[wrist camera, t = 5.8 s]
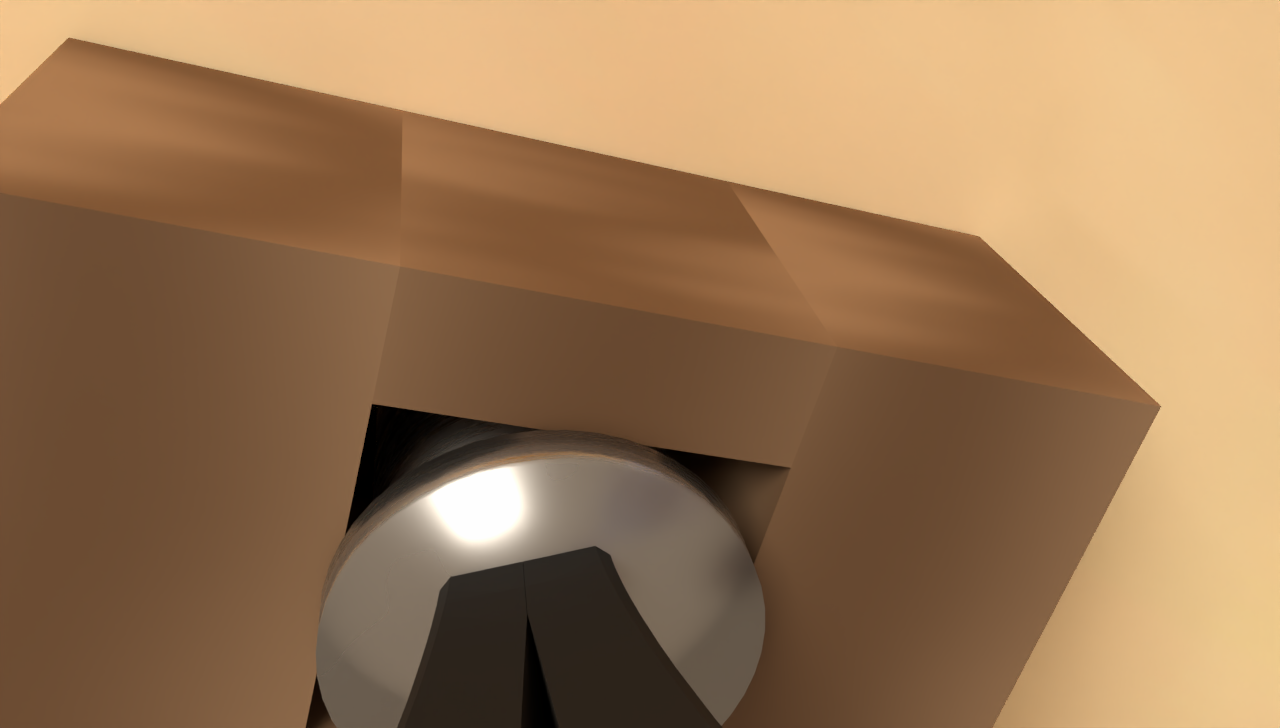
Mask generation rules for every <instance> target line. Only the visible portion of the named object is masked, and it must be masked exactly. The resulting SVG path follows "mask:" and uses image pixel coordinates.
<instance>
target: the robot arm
mask: <svg viewBox="0 0 1280 728" xmlns="http://www.w3.org/2000/svg"><path fill="white" fill-rule="evenodd" d="M397 728H723V727H722V726H721V725H720V724H719V723H718V721H717V720H716V719H715V718H714V717H713V715H712V714H711V713H710V711H709V710H708V709H707V707H706V706H705V705H704V703H703V702H702V701H701V700H700V698H699V697H698V696H697V694H696V693H695V692H694V690H693V689H692V688H691V686H690V685H689V684H688V683H687V681H686V680H685V679H684V677H683V676H682V675H681V673H680V672H679V671H678V670H677V668H676V667H675V665H674V664H673V663H672V661H671V660H670V658H669V657H668V656H667V654H666V653H665V651H664V650H663V648H662V647H661V646H660V644H659V643H658V641H657V640H656V638H655V636H654V635H653V633H652V632H651V630H650V629H649V627H648V626H647V624H646V623H645V621H644V619H643V618H642V616H641V615H640V613H639V611H638V610H637V608H636V606H635V605H634V603H633V601H632V600H631V598H630V596H629V594H628V592H627V591H626V589H625V587H624V585H623V583H622V581H621V579H620V577H619V575H618V573H617V570H616V568H615V566H614V563H613V561H612V558H611V555H610V554H608V553H607V552H605V551H603V550H602V549H600V548H598V547H596V546H593V547H588V548H583V549H578V550H574V551H569V552H565V553H560V554H555V555H551V556H546V557H542V558H537V559H532V560H528V561H523V562H518V563H513V564H509V565H504V566H499V567H495V568H490V569H485V570H481V571H476V572H471V573H466V574H462V575H457V576H452V577H450V578H449V579H448V581H447V582H446V583H445V584H444V586H443V587H442V588H441V589H440V591H439V596H438V601H437V606H436V610H435V614H434V618H433V621H432V625H431V629H430V632H429V636H428V639H427V643H426V646H425V649H424V653H423V656H422V659H421V662H420V665H419V668H418V671H417V674H416V677H415V680H414V683H413V686H412V689H411V692H410V695H409V698H408V700H407V703H406V706H405V708H404V711H403V714H402V716H401V719H400V721H399V724H398V726H397Z"/></svg>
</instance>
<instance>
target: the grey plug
mask: <svg viewBox="0 0 1280 728" xmlns="http://www.w3.org/2000/svg"><path fill="white" fill-rule="evenodd" d="M593 546H596V547H598V548H600V549H602V550H603V551H605V552H607V553H608V554H610V555H611V558H612V561H613V563H614V566H615V568H616V570H617V573H618V575H619V577H620V579H621V581H622V583H623V585H624V587H625V589H626V591H627V592H628V594H629V596H630V598H631V600H632V601H633V603H634V605H635V606H636V608H637V610H638V611H639V613H640V615H641V616H642V618H643V619H644V621H645V623H646V624H647V626H648V627H649V629H650V630H651V632H652V633H653V635H654V636H655V638H656V640H657V641H658V643H659V644H660V646H661V647H662V648H663V650H664V651H665V653H666V654H667V656H668V657H669V658H670V660H671V661H672V663H673V664H674V665H675V667H676V668H677V670H678V671H679V672H680V673H681V675H682V676H683V677H684V679H685V680H686V681H687V683H688V684H689V685H690V686H691V688H692V689H693V690H694V692H695V693H696V694H697V696H698V697H699V698H700V700H701V701H702V702H703V703H704V705H705V706H706V707H707V709H708V710H709V711H710V713H711V714H712V715H713V717H714V718H715V719H716V720H717V721H718V723H719V724H720V725H721V726H722V725H723V723H724V722H725V721H726V720H727V719H728V718H729V716H730V715H731V714H732V712H733V711H734V709H735V708H736V706H737V705H738V703H739V702H740V700H741V699H742V697H743V696H744V694H745V692H746V690H747V688H748V686H749V684H750V682H751V680H752V678H753V676H754V674H755V671H756V668H757V665H758V662H759V658H760V655H761V652H762V646H763V640H764V634H765V605H764V599H763V593H762V587H761V584H760V581H759V578H758V575H757V573H756V570H755V567H754V564H753V562H752V559H751V557H750V554H749V552H748V549H747V547H746V544H745V542H744V539H743V537H742V534H741V532H740V529H739V527H738V526H737V524H736V522H735V520H734V518H733V517H732V515H731V513H730V511H729V510H728V508H727V507H726V506H725V504H724V503H723V502H722V501H721V499H720V498H719V497H718V496H717V494H716V493H715V492H714V491H713V490H712V489H711V488H710V487H709V486H708V485H707V484H706V483H705V482H704V481H702V480H701V479H700V478H699V477H698V476H697V475H696V474H695V473H693V472H692V471H690V470H689V469H687V468H686V467H684V466H683V465H681V464H680V463H679V462H677V461H676V460H674V459H672V458H670V457H668V456H667V454H666V452H665V449H664V448H659V447H652V446H645V445H641V444H638V443H635V442H632V441H629V440H627V439H623V438H619V437H614V436H609V435H605V434H600V433H594V432H584V431H573V430H541V429H534V428H527V427H521V426H514V425H508V424H501V423H495V422H488V421H482V420H475V419H469V418H462V417H455V416H449V415H442V414H436V413H429V412H423V411H416V410H410V409H403V408H396V407H390V406H383V405H378V406H377V423H376V445H375V467H374V488H373V501H372V502H371V504H370V505H369V506H368V507H367V508H366V509H365V510H364V511H363V513H362V514H361V515H360V516H359V517H358V518H357V519H356V520H355V522H354V523H353V524H352V526H351V527H350V529H349V530H348V532H347V533H346V535H345V536H344V538H343V539H342V541H341V542H340V544H339V546H338V548H337V550H336V553H335V555H334V557H333V559H332V561H331V563H330V565H329V568H328V571H327V575H326V578H325V582H324V585H323V589H322V596H321V605H320V614H319V624H318V634H317V644H316V668H317V678H318V682H319V687H320V691H321V695H322V699H323V701H324V703H325V706H326V708H327V710H328V713H329V715H330V717H331V720H332V721H333V723H334V724H335V726H336V727H337V728H397V726H398V724H399V721H400V719H401V716H402V714H403V711H404V708H405V706H406V703H407V700H408V698H409V695H410V692H411V689H412V686H413V683H414V680H415V677H416V674H417V671H418V668H419V665H420V662H421V659H422V656H423V653H424V649H425V646H426V643H427V639H428V636H429V632H430V629H431V625H432V621H433V618H434V614H435V610H436V606H437V601H438V596H439V591H440V589H441V588H442V587H443V586H444V584H445V583H446V582H447V581H448V579H449V578H450V577H452V576H457V575H462V574H466V573H471V572H476V571H481V570H485V569H490V568H495V567H499V566H504V565H509V564H513V563H518V562H523V561H528V560H532V559H537V558H542V557H546V556H551V555H555V554H560V553H565V552H569V551H574V550H578V549H583V548H588V547H593Z"/></svg>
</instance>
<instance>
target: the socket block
mask: <svg viewBox="0 0 1280 728" xmlns="http://www.w3.org/2000/svg"><path fill="white" fill-rule="evenodd" d="M372 404H377V405H383V406H390V407H396V408H403V409H410V410H416V411H423V412H429V413H436V414H442V415H449V416H455V417H462V418H469V419H475V420H482V421H488V422H495V423H501V424H508V425H514V426H521V427H527V428H534V429H541V430H573V431H584V432H594V433H600V434H605V435H609V436H614V437H619V438H623V439H627V440H629V441H632V442H635V443H638V444H641V445H645V446H652V447H659V448H664V449H665V452H666V454H667V456H668V457H670V458H672V459H674V460H676V461H677V462H679V463H680V464H681V465H683V466H684V467H686V468H687V469H689V470H690V471H692V472H693V473H695V474H696V475H697V476H698V477H699V478H700V479H701V480H702V481H704V482H705V483H706V484H707V485H708V486H709V487H710V488H711V489H712V490H713V491H714V492H715V493H716V494H717V496H718V497H719V498H720V499H721V501H722V502H723V503H724V504H725V506H726V507H727V508H728V510H729V511H730V513H731V515H732V517H733V518H734V520H735V522H736V524H737V526H738V527H739V529H740V532H741V534H742V537H743V539H744V542H745V544H746V547H747V549H748V552H749V554H750V557H751V559H752V562H753V564H754V567H755V570H756V573H757V575H758V578H759V581H760V584H761V587H762V593H763V599H764V605H765V634H764V640H763V646H762V652H761V655H760V658H759V662H758V665H757V668H756V671H755V674H754V676H753V678H752V680H751V682H750V684H749V686H748V688H747V690H746V692H745V694H744V696H743V697H742V699H741V700H740V702H739V703H738V705H737V706H736V708H735V709H734V711H733V712H732V714H731V715H730V716H729V718H728V719H727V720H726V721H725V722H724V723H723V725H722V727H723V728H992V727H993V725H994V723H995V721H996V719H997V717H998V716H999V714H1000V712H1001V710H1002V708H1003V706H1004V704H1005V702H1006V700H1007V698H1008V697H1009V695H1010V693H1011V691H1012V689H1013V687H1014V685H1015V683H1016V681H1017V679H1018V678H1019V676H1020V674H1021V672H1022V670H1023V668H1024V666H1025V664H1026V662H1027V660H1028V658H1029V657H1030V655H1031V653H1032V651H1033V649H1034V647H1035V645H1036V643H1037V641H1038V639H1039V638H1040V636H1041V634H1042V632H1043V630H1044V628H1045V626H1046V624H1047V622H1048V620H1049V619H1050V617H1051V615H1052V613H1053V611H1054V609H1055V607H1056V605H1057V603H1058V601H1059V600H1060V598H1061V596H1062V594H1063V592H1064V590H1065V588H1066V586H1067V584H1068V582H1069V580H1070V579H1071V577H1072V575H1073V573H1074V571H1075V569H1076V567H1077V565H1078V563H1079V561H1080V560H1081V558H1082V556H1083V554H1084V552H1085V550H1086V548H1087V546H1088V544H1089V542H1090V541H1091V539H1092V537H1093V535H1094V533H1095V531H1096V529H1097V527H1098V525H1099V523H1100V522H1101V520H1102V518H1103V516H1104V514H1105V512H1106V510H1107V508H1108V506H1109V504H1110V502H1111V501H1112V499H1113V497H1114V495H1115V493H1116V491H1117V489H1118V487H1119V485H1120V483H1121V482H1122V480H1123V478H1124V476H1125V474H1126V472H1127V470H1128V468H1129V466H1130V464H1131V463H1132V461H1133V459H1134V457H1135V455H1136V453H1137V451H1138V449H1139V447H1140V445H1141V444H1142V442H1143V440H1144V438H1145V436H1146V434H1147V432H1148V430H1149V428H1150V426H1151V424H1152V423H1153V421H1154V419H1155V417H1156V415H1157V413H1158V411H1159V409H1160V407H1161V406H1160V405H1159V404H1158V403H1157V402H1156V401H1155V400H1154V399H1153V398H1152V397H1151V396H1149V395H1148V394H1147V393H1146V392H1145V391H1144V390H1143V389H1142V388H1141V387H1140V386H1139V385H1138V384H1137V383H1136V382H1134V381H1133V380H1132V379H1131V378H1130V377H1129V376H1128V375H1127V374H1126V373H1125V372H1124V371H1123V370H1122V369H1121V368H1119V367H1118V366H1117V365H1116V364H1115V363H1114V362H1113V361H1112V360H1111V359H1110V358H1109V357H1108V356H1107V355H1106V354H1104V353H1103V352H1102V351H1101V350H1100V349H1099V348H1098V347H1097V346H1096V345H1095V344H1094V343H1093V342H1092V341H1091V340H1089V339H1088V338H1087V337H1086V336H1085V335H1084V334H1083V333H1082V332H1081V331H1080V330H1079V329H1078V328H1077V327H1076V326H1074V325H1073V324H1072V323H1071V322H1070V321H1069V320H1068V319H1067V318H1066V317H1065V316H1064V315H1063V314H1062V313H1061V312H1059V311H1058V310H1057V309H1056V308H1055V307H1054V306H1053V305H1052V304H1051V303H1050V302H1049V301H1048V300H1047V299H1046V298H1044V297H1043V296H1042V295H1041V294H1040V293H1039V292H1038V291H1037V290H1036V289H1035V288H1034V287H1033V286H1032V285H1031V284H1029V283H1028V282H1027V281H1026V280H1025V279H1024V278H1023V277H1022V276H1021V275H1020V274H1019V273H1018V272H1017V271H1016V270H1014V269H1013V268H1012V267H1011V266H1010V265H1009V264H1008V263H1007V262H1006V261H1005V260H1004V259H1003V258H1002V257H1001V256H999V255H998V254H997V253H996V252H995V251H994V250H993V249H992V248H991V247H990V246H989V245H988V244H987V243H986V242H984V241H983V240H982V239H981V238H980V237H978V236H974V235H969V234H965V233H960V232H956V231H951V230H946V229H942V228H937V227H933V226H928V225H923V224H919V223H914V222H910V221H905V220H901V219H896V218H891V217H887V216H882V215H878V214H873V213H869V212H864V211H859V210H855V209H850V208H846V207H841V206H837V205H832V204H827V203H823V202H818V201H814V200H809V199H804V198H800V197H795V196H791V195H786V194H782V193H777V192H772V191H768V190H763V189H759V188H754V187H750V186H745V185H740V184H736V183H731V182H727V181H722V180H717V179H713V178H708V177H704V176H699V175H695V174H690V173H685V172H681V171H676V170H672V169H667V168H663V167H658V166H653V165H649V164H644V163H640V162H635V161H631V160H626V159H621V158H617V157H612V156H608V155H603V154H598V153H594V152H589V151H585V150H580V149H576V148H571V147H566V146H562V145H557V144H553V143H548V142H544V141H539V140H534V139H530V138H525V137H521V136H516V135H511V134H507V133H502V132H498V131H493V130H489V129H484V128H479V127H475V126H470V125H466V124H461V123H457V122H452V121H447V120H443V119H438V118H434V117H429V116H425V115H420V114H415V113H411V112H406V111H402V110H397V109H392V108H388V107H383V106H379V105H374V104H370V103H365V102H360V101H356V100H351V99H347V98H342V97H338V96H333V95H328V94H324V93H319V92H315V91H310V90H305V89H301V88H296V87H292V86H287V85H283V84H278V83H273V82H269V81H264V80H260V79H255V78H251V77H246V76H241V75H237V74H232V73H228V72H223V71H219V70H214V69H209V68H205V67H200V66H196V65H191V64H186V63H182V62H177V61H173V60H168V59H164V58H159V57H154V56H150V55H145V54H141V53H136V52H132V51H127V50H122V49H118V48H113V47H109V46H104V45H99V44H95V43H90V42H86V41H81V40H77V39H72V38H68V39H67V40H66V41H65V42H64V43H63V44H62V45H61V46H60V47H59V48H58V49H57V50H56V51H55V52H54V53H53V54H52V55H51V56H50V57H49V58H48V59H46V60H45V61H44V62H43V63H42V64H41V65H40V66H39V67H38V68H37V69H36V70H35V71H34V72H33V73H32V74H31V75H30V76H29V77H28V78H27V79H26V80H25V81H24V82H23V83H22V84H21V85H20V86H19V87H18V88H17V89H16V90H15V91H14V92H13V93H12V94H11V95H10V96H9V97H8V98H7V99H6V100H5V101H3V102H2V103H1V104H0V728H337V727H336V726H335V724H334V723H333V721H332V720H331V717H330V715H329V713H328V710H327V708H326V706H325V703H324V701H323V699H322V695H321V691H320V687H319V682H318V678H317V668H316V644H317V634H318V624H319V614H320V605H321V596H322V589H323V585H324V582H325V578H326V575H327V571H328V568H329V565H330V563H331V561H332V559H333V557H334V555H335V553H336V550H337V548H338V546H339V544H340V542H341V541H342V539H343V538H344V536H345V535H346V533H347V532H348V530H349V529H350V527H351V526H352V524H353V523H354V522H355V520H356V519H357V518H358V517H359V516H360V515H361V514H362V513H363V511H364V510H365V509H366V508H367V507H368V506H369V505H370V504H371V502H372V501H373V499H366V498H358V497H353V494H354V489H355V484H356V479H357V474H358V469H359V464H360V460H361V455H362V450H363V445H364V440H365V435H366V430H367V425H368V420H369V416H370V411H371V406H372Z"/></svg>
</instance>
